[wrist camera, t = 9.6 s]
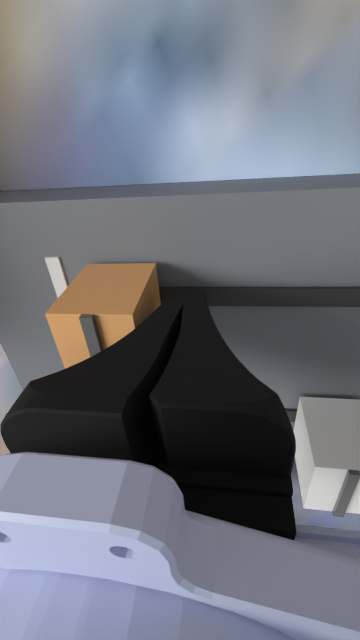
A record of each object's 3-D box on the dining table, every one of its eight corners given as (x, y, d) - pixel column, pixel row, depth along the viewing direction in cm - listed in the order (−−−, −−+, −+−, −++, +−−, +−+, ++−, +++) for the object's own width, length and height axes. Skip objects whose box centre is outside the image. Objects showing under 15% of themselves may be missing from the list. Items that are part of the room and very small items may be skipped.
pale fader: (348, 442, 17) (373, 519, 14) (291, 438, 17) (304, 513, 14) (362, 399, 15) (395, 478, 12) (299, 396, 16) (316, 471, 13)
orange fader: (164, 329, 14) (145, 394, 11) (103, 328, 15) (69, 391, 12) (155, 262, 13) (130, 318, 10) (86, 263, 13) (41, 317, 10)
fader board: (423, 439, 19) (443, 474, 18) (61, 416, 23) (47, 444, 21) (577, 162, 11) (645, 176, 9) (-33, 193, 14) (-70, 207, 13)
